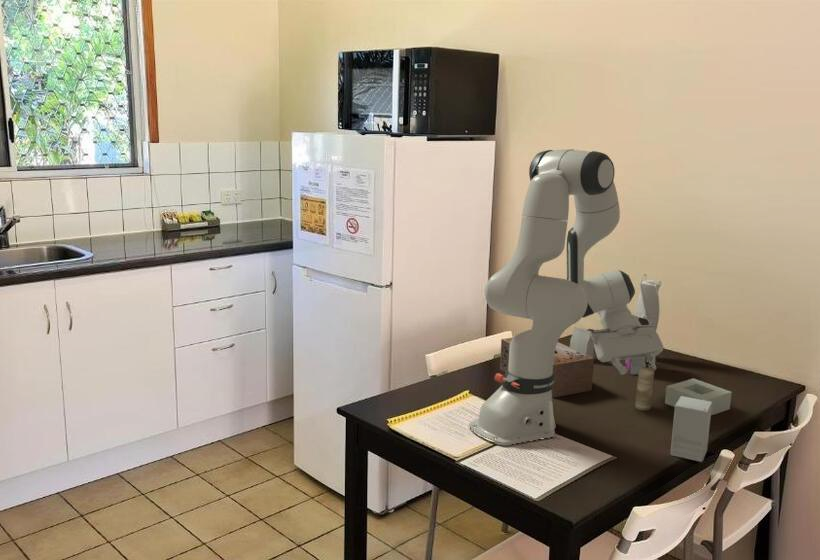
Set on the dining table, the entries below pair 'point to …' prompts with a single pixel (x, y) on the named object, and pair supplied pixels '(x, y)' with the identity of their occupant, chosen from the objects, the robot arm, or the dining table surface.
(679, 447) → the supplement box
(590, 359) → the tissue box cover
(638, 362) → the candy bar box
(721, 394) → the socket block
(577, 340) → the grey bevelled box
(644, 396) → the peg
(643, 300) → the skyscraper
